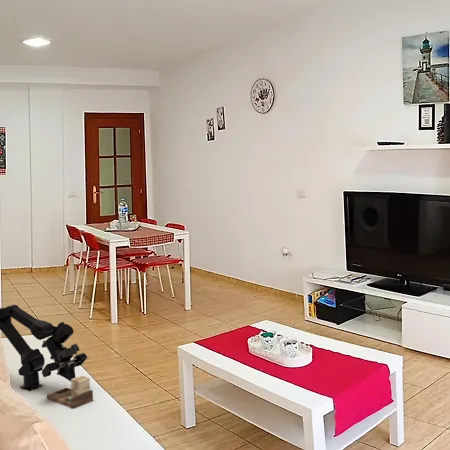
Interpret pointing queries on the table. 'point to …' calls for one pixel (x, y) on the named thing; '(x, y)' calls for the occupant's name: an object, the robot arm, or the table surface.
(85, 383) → the birch block
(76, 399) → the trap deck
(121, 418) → the table surface
